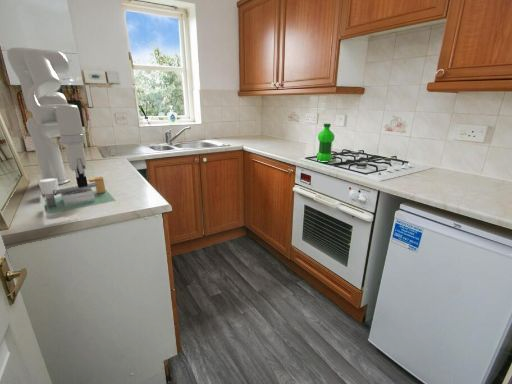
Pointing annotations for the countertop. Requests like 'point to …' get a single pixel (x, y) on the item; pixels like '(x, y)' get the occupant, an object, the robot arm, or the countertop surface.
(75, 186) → the strap
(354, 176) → the countertop surface
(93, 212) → the countertop surface
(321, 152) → the plastic bottle
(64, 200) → the heat sink
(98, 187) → the block
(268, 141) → the countertop surface
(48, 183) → the white grey cylinder
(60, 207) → the circuit board
